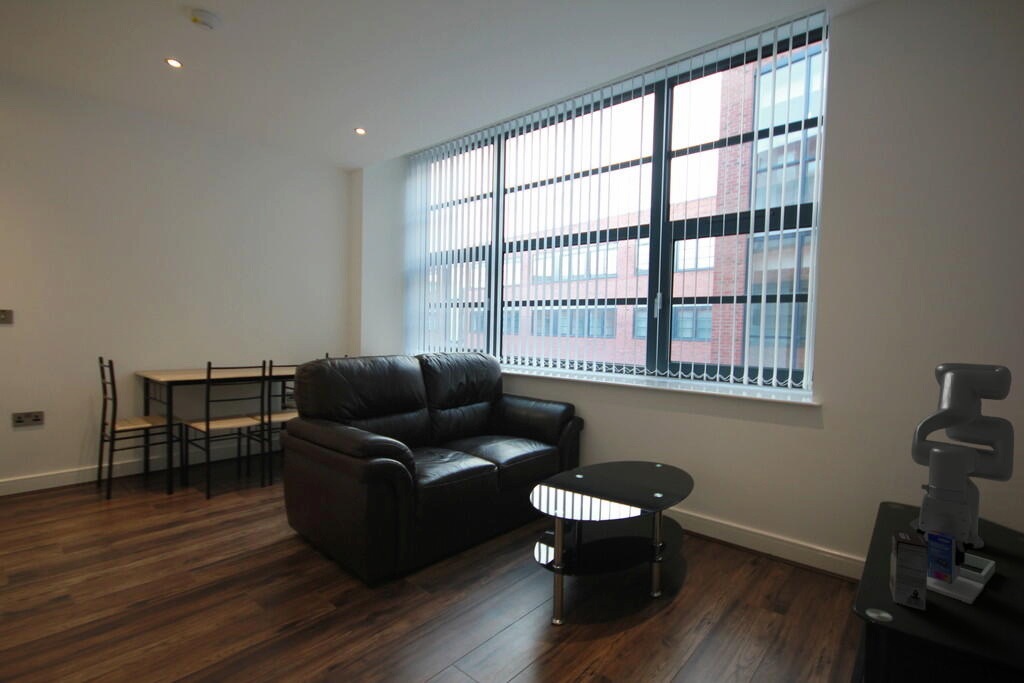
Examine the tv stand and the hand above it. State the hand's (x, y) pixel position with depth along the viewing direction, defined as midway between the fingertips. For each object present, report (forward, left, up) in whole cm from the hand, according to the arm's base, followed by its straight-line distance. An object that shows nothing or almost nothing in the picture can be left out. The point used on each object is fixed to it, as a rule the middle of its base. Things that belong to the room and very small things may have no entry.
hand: (943, 559), depth 129 cm
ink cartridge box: (0, 0, -5) cm, 5 cm away
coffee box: (+18, -3, -7) cm, 20 cm away
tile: (0, 0, -7) cm, 7 cm away
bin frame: (-15, -1, -7) cm, 16 cm away
